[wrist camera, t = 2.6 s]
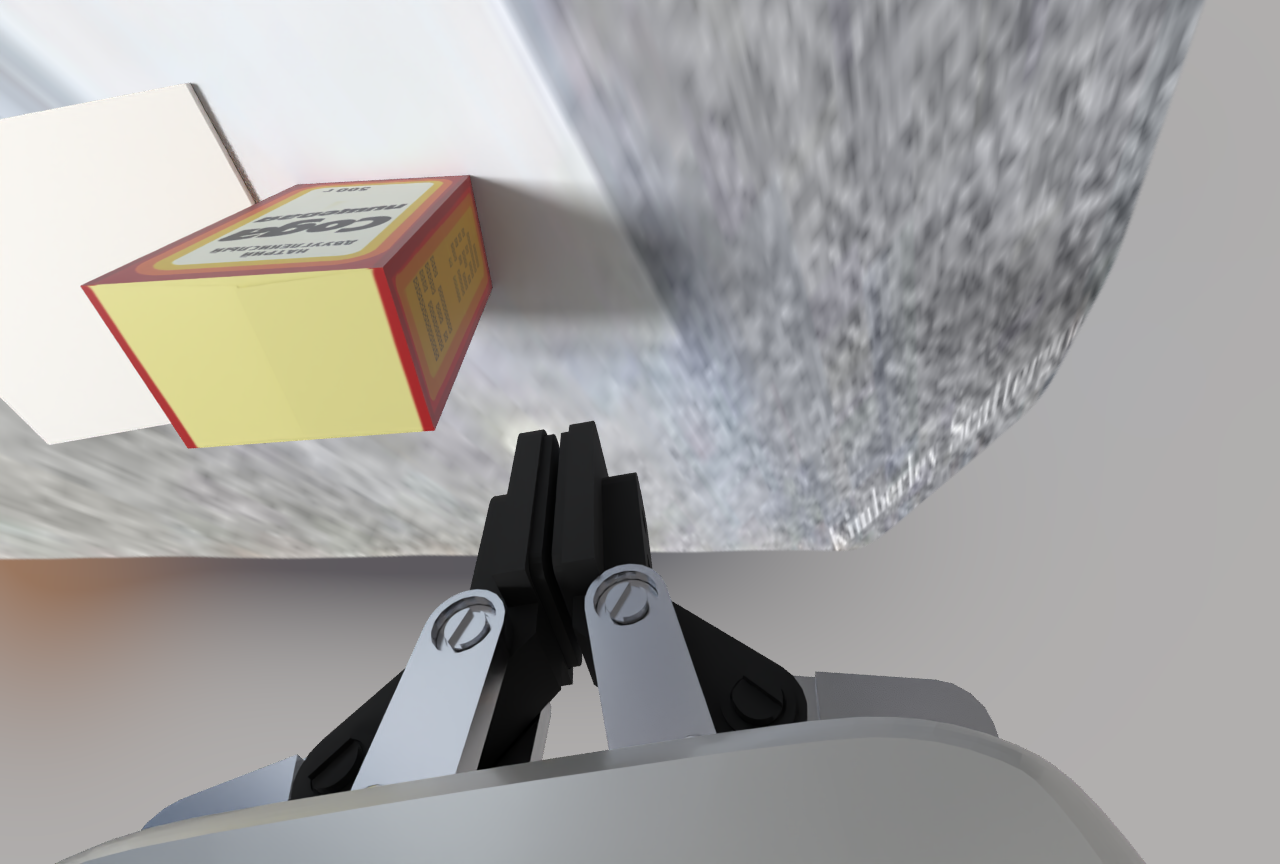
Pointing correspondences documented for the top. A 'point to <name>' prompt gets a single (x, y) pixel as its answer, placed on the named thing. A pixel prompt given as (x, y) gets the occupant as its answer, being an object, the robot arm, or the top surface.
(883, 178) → the top surface
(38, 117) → the mat
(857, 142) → the top surface
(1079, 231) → the top surface
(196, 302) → the baking soda box
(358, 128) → the top surface
